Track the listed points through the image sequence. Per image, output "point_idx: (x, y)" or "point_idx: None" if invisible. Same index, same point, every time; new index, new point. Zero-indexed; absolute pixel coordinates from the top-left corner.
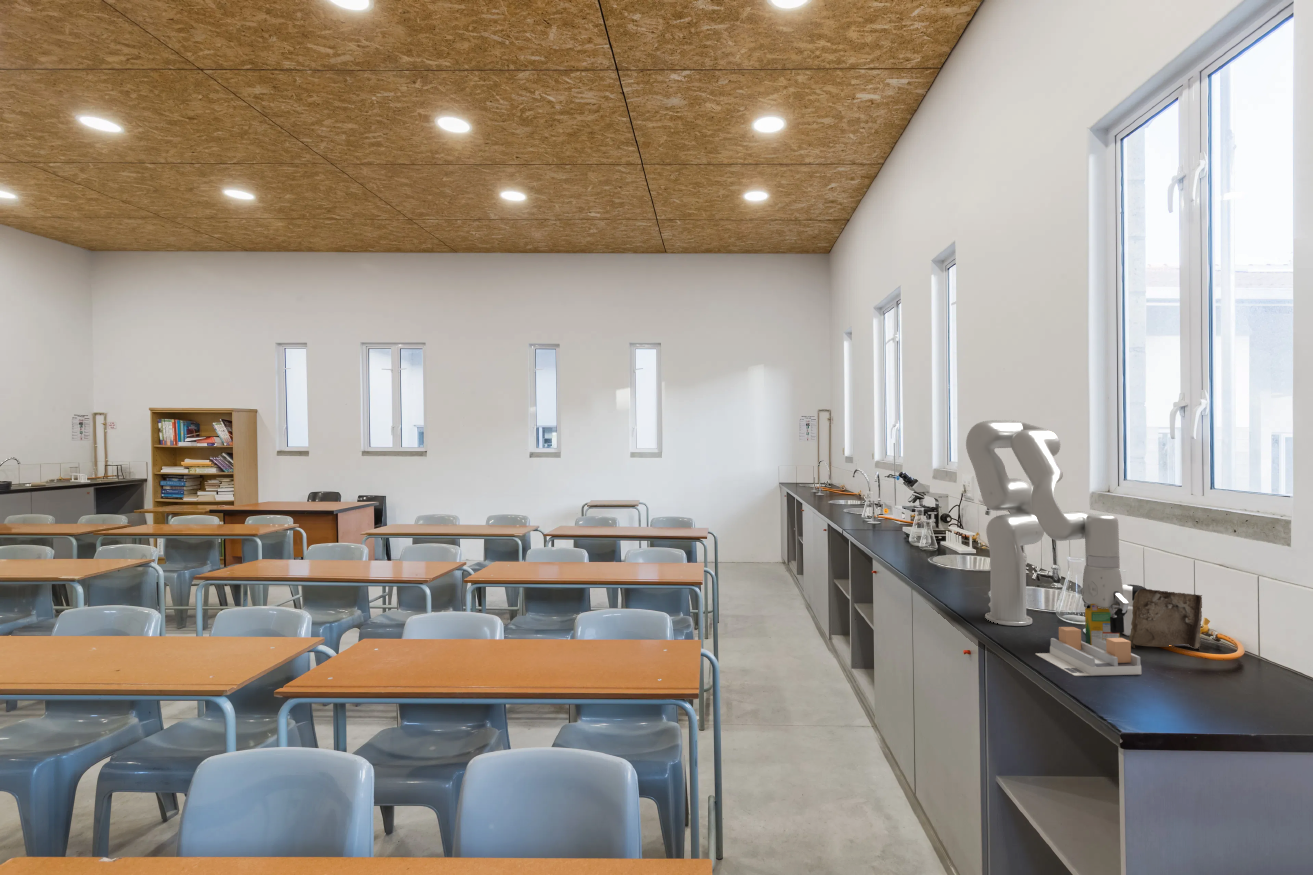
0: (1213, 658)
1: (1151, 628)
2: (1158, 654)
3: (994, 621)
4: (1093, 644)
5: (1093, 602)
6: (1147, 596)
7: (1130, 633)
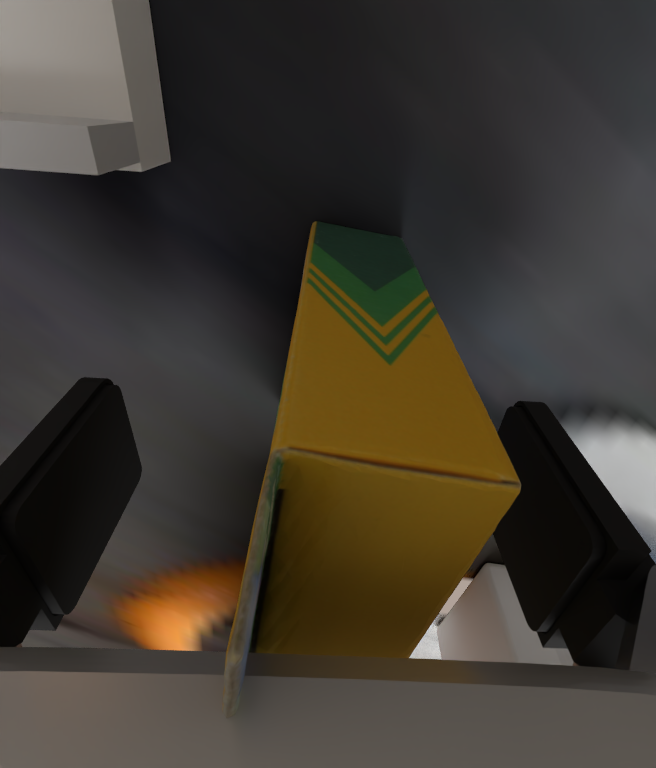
0: (133, 609)
1: None
2: (168, 499)
3: None
4: (104, 118)
5: (282, 744)
6: None
7: (479, 581)
